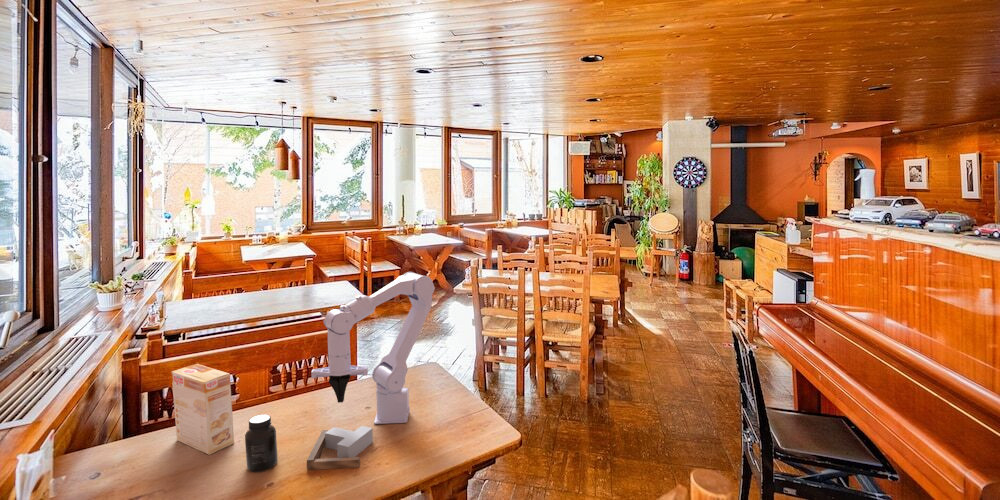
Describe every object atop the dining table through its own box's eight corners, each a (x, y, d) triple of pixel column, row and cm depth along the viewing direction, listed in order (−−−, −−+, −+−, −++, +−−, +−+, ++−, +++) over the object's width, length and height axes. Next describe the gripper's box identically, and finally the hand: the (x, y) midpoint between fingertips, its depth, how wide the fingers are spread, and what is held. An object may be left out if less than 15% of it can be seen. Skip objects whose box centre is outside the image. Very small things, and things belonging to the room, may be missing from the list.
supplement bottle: (284, 460, 119) (281, 414, 118) (262, 475, 113) (259, 427, 111) (262, 454, 121) (260, 410, 120) (240, 469, 115) (237, 422, 114)
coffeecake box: (235, 443, 127) (231, 373, 124) (208, 456, 121) (203, 382, 118) (202, 429, 134) (197, 362, 131) (175, 440, 128) (169, 371, 125)
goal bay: (368, 436, 131) (368, 428, 130) (359, 467, 116) (358, 457, 116) (322, 438, 129) (322, 430, 129) (307, 469, 115) (306, 460, 115)
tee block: (372, 442, 128) (372, 428, 128) (348, 461, 119) (348, 446, 118) (342, 435, 132) (341, 421, 131) (316, 453, 122) (316, 439, 122)
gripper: (368, 347, 135) (369, 393, 137) (314, 349, 132) (316, 396, 134) (365, 356, 128) (366, 404, 130) (308, 358, 125) (310, 407, 127)
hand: (340, 400), depth 131 cm, fingers closed
